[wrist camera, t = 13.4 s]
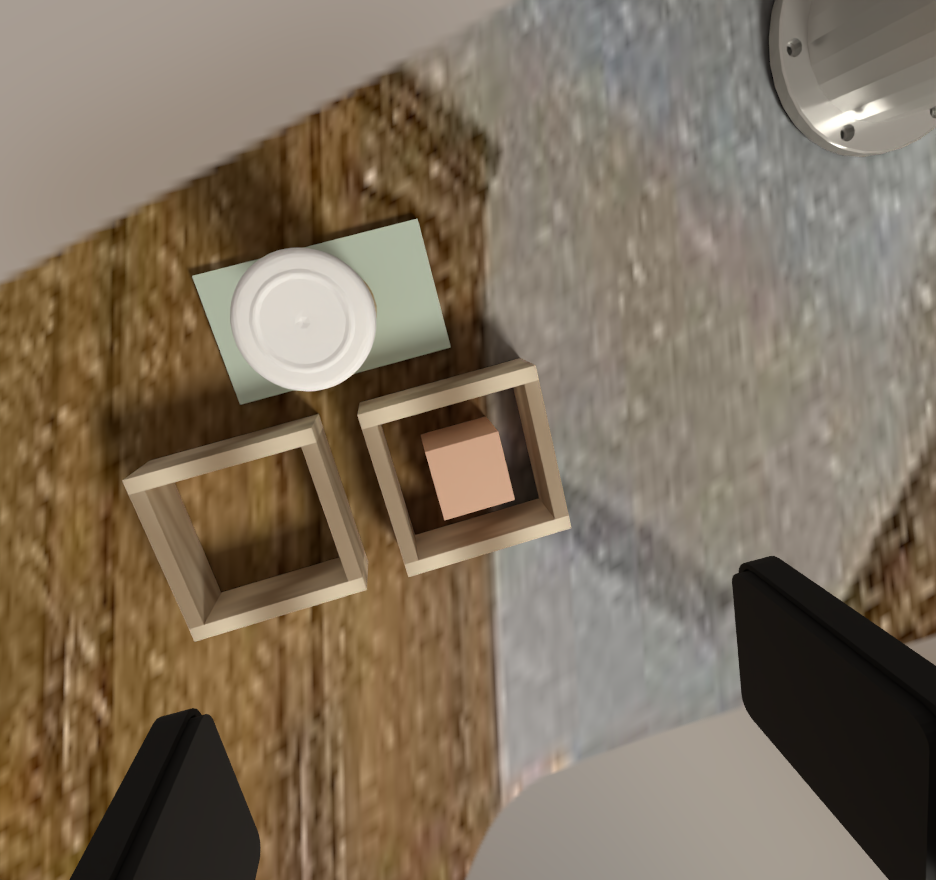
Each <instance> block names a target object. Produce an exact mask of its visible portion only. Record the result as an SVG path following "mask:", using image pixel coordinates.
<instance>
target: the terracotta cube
mask: <svg viewBox="0 0 936 880" xmlns="http://www.w3.org/2000/svg"><path fill="white" fill-rule="evenodd" d="M421 439H422V443H423V446H424V450H425V454H426V457H427V461H428V464H429V468H430V471H431V475H432V478H433V482H434V485H435V489H436V492H437V496H438V499H439V503H440V506H441V510H442V513H443V517H444V520H448V519H451V518H455V517H458V516H462V515H465V514H468V513H472V512H475V511H479V510H482V509H485V508H489V507H492V506H496V505H499V504H502V503H506V502H509V501H513V500H515V498H514V494H513V490H512V486H511V482H510V478H509V473H508V469H507V465H506V461H505V457H504V453H503V449H502V445H501V441H500V437H499V433H498V431H497V429H496V428H495V427H494V426H493V425H492V423H491V422H490V421H489V420H488V419H487V417H486V416H485V417H481V418H477V419H474V420H470V421H467V422H463V423H460V424H456V425H453V426H449V427H445V428H442V429H438V430H435V431H431V432H428V433H424V434H421Z"/></svg>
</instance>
